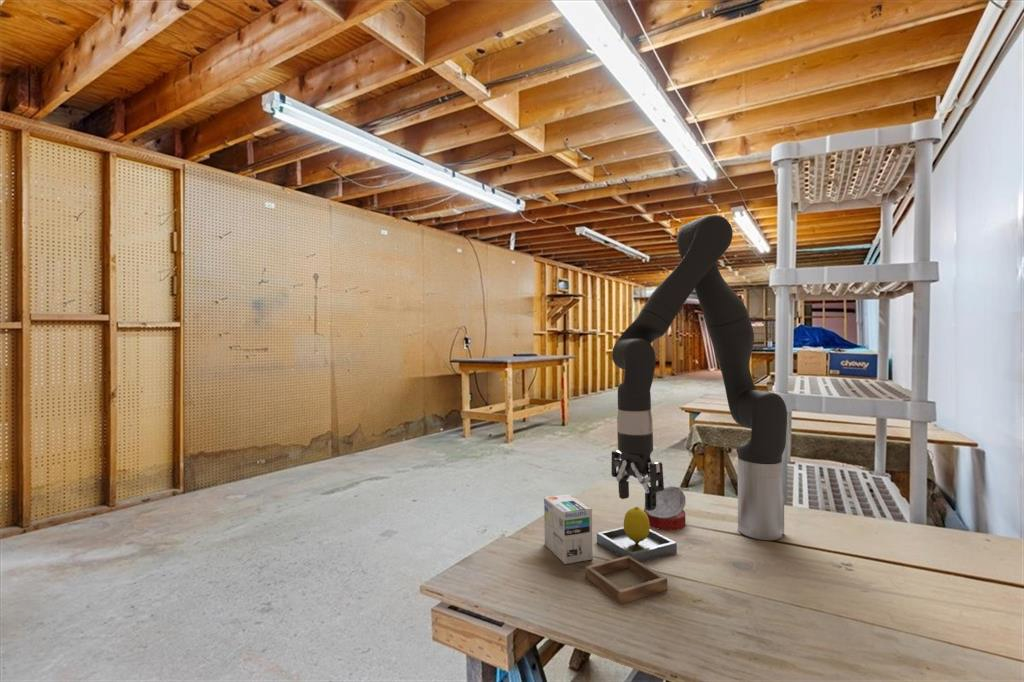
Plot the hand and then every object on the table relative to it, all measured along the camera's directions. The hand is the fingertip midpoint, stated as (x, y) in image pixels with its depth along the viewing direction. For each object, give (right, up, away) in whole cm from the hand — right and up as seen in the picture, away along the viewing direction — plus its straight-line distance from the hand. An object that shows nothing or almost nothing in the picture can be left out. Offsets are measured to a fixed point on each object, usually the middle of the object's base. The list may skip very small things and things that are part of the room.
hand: (636, 503), depth 106 cm
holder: (-6, -10, -15) cm, 19 cm away
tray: (0, -10, 0) cm, 10 cm away
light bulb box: (-15, -10, -2) cm, 18 cm away
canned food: (+11, -10, +14) cm, 20 cm away
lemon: (0, -9, 0) cm, 9 cm away
